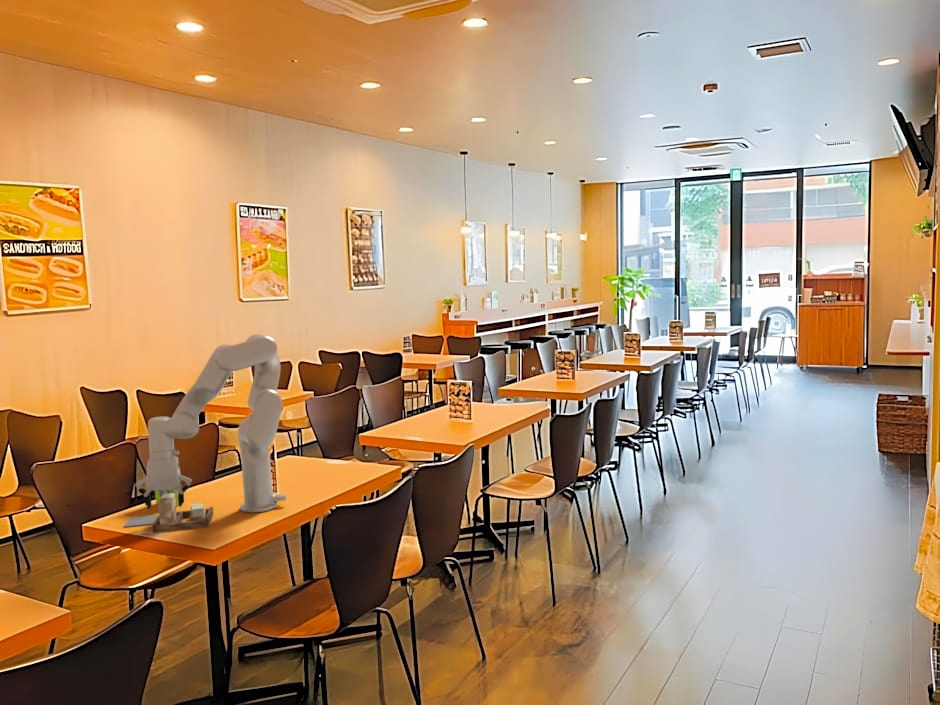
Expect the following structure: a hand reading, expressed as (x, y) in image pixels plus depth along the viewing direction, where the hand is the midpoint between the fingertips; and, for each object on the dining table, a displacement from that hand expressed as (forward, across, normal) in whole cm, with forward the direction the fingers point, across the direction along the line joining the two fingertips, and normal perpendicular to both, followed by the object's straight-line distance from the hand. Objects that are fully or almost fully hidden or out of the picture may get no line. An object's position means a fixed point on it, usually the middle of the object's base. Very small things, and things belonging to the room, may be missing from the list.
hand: (165, 506), depth 258 cm
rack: (+6, -6, 0) cm, 8 cm away
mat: (+6, +9, -7) cm, 13 cm away
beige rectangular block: (+6, -1, 0) cm, 6 cm away
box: (+6, +3, -25) cm, 26 cm away
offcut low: (+6, -10, 0) cm, 12 cm away
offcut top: (+3, -10, 0) cm, 10 cm away
